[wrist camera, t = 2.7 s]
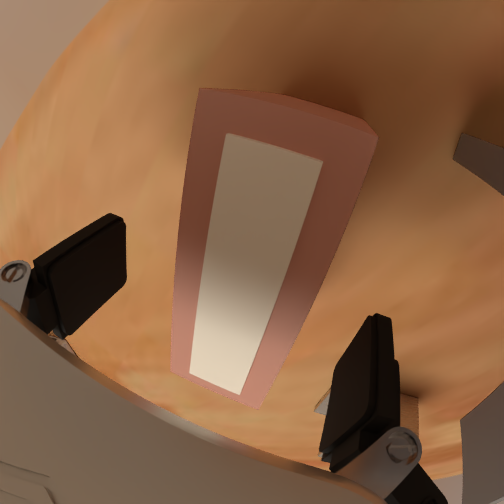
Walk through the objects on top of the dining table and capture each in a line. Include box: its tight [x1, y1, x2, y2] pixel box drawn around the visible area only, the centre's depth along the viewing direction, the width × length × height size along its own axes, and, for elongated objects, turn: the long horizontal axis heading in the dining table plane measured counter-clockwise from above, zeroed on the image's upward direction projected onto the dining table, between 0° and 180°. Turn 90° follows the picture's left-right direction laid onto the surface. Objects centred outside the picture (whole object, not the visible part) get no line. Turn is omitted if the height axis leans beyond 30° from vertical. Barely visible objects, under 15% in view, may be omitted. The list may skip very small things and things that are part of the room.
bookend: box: [314, 388, 419, 457], centre depth 20 cm, size 6×8×7 cm
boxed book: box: [171, 88, 379, 410], centre depth 13 cm, size 12×4×9 cm, turn 167°
